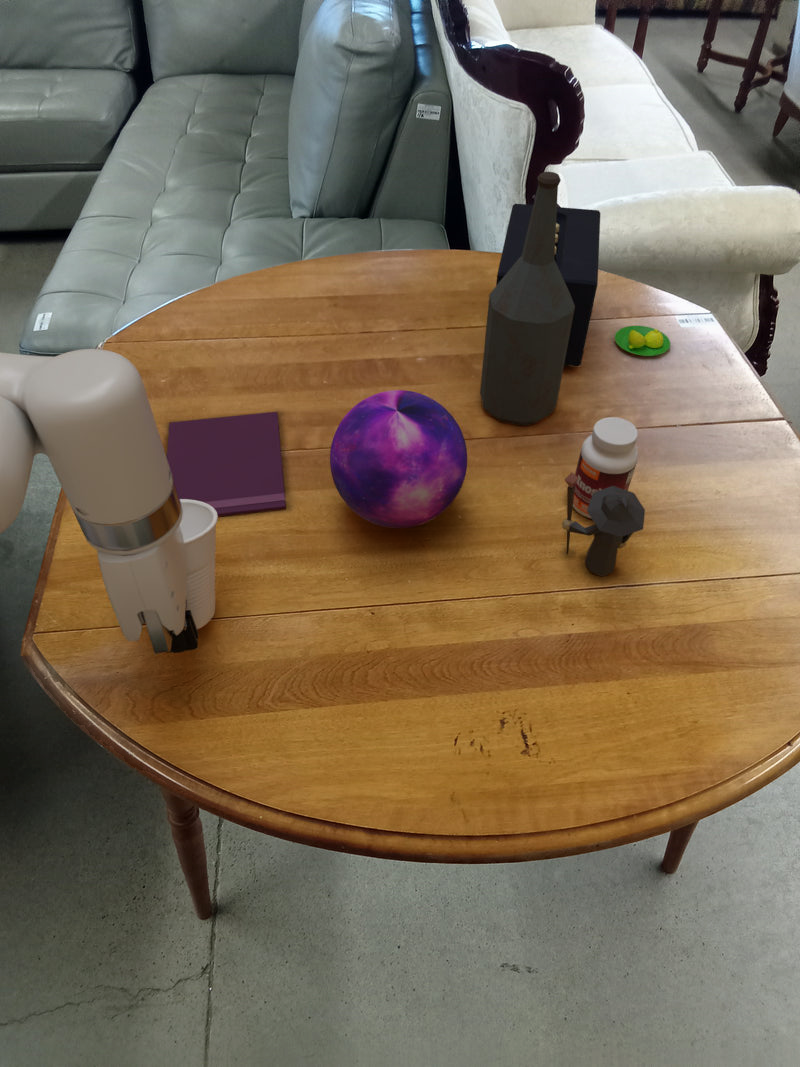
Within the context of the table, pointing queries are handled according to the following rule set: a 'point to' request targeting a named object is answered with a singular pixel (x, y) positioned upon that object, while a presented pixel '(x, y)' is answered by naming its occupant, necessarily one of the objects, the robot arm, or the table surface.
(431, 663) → the table surface
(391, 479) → the decorative orb
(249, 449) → the book
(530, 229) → the bottle
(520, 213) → the speaker
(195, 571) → the cup
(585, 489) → the pill bottle
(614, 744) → the table surface
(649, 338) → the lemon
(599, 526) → the wizard figurine
